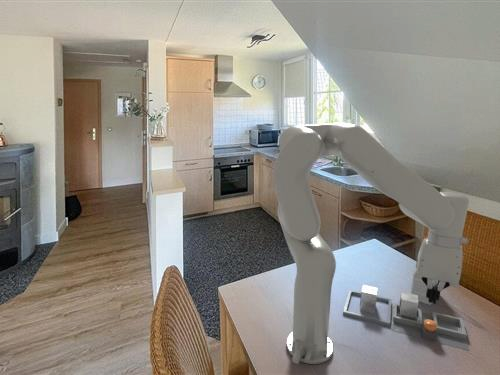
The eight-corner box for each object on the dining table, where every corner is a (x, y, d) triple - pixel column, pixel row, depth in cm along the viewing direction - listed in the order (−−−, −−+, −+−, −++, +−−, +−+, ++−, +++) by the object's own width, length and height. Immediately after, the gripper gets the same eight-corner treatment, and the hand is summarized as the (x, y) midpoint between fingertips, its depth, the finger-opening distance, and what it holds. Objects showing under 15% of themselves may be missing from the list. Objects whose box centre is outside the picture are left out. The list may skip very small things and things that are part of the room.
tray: (389, 329, 95) (390, 323, 95) (342, 317, 101) (343, 311, 100) (390, 304, 107) (391, 299, 107) (349, 294, 113) (349, 289, 112)
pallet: (468, 353, 86) (471, 342, 85) (391, 333, 94) (393, 323, 93) (461, 324, 97) (462, 314, 96) (393, 308, 105) (394, 299, 104)
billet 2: (415, 323, 96) (418, 303, 94) (398, 319, 98) (400, 299, 96) (414, 315, 100) (417, 295, 98) (398, 311, 102) (400, 291, 100)
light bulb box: (416, 287, 117) (420, 260, 115) (437, 294, 113) (441, 266, 111) (409, 300, 109) (413, 272, 107) (431, 308, 105) (436, 279, 102)
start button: (436, 333, 88) (437, 328, 88) (423, 329, 90) (424, 324, 89) (435, 326, 91) (436, 321, 91) (423, 323, 93) (423, 318, 92)
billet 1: (374, 314, 101) (376, 295, 99) (359, 310, 103) (360, 291, 101) (375, 306, 105) (377, 287, 103) (360, 303, 107) (362, 284, 105)
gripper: (474, 239, 84) (461, 301, 89) (411, 229, 90) (401, 287, 95) (480, 250, 77) (465, 316, 82) (412, 238, 83) (401, 300, 88)
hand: (431, 300), depth 88 cm, fingers closed
